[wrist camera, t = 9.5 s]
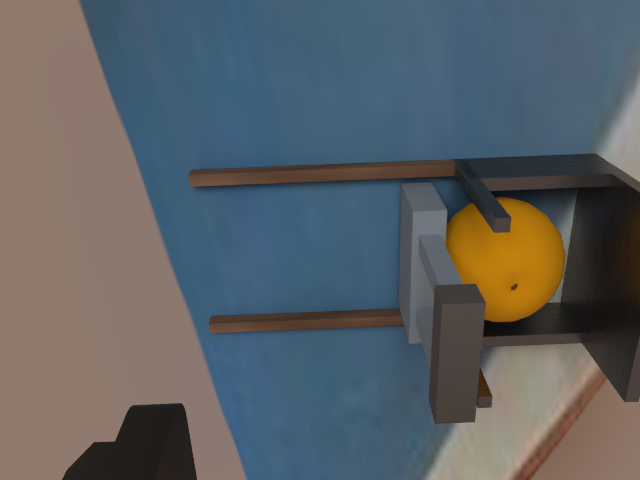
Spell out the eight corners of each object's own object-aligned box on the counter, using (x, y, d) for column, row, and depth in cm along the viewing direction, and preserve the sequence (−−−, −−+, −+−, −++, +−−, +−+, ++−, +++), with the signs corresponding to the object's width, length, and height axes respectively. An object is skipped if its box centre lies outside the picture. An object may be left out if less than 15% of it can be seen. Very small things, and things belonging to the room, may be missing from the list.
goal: (451, 159, 39) (495, 218, 30) (595, 153, 39) (683, 210, 30) (442, 316, 44) (477, 407, 35) (569, 311, 44) (638, 401, 35)
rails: (191, 169, 39) (188, 174, 38) (451, 159, 39) (455, 163, 38) (212, 325, 44) (210, 333, 43) (442, 316, 44) (445, 323, 43)
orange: (503, 302, 43) (539, 365, 36) (407, 264, 42) (426, 322, 35) (564, 209, 40) (616, 258, 33) (463, 164, 39) (496, 206, 32)
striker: (400, 183, 39) (443, 283, 27) (431, 182, 39) (487, 281, 27) (398, 303, 43) (434, 440, 30) (426, 302, 43) (473, 438, 30)
